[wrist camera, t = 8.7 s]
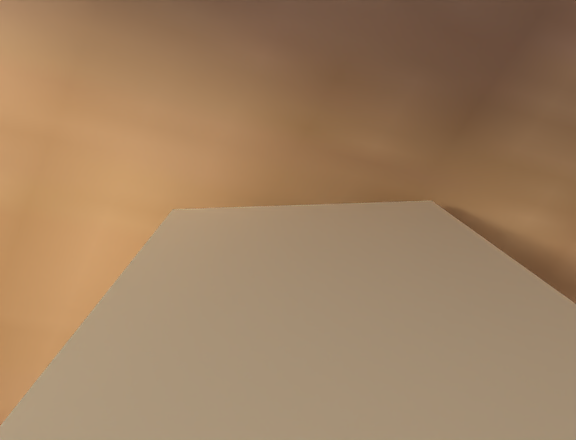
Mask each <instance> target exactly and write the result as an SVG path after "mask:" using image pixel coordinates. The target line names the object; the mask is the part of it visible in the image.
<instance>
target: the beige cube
mask: <svg viewBox="0 0 576 440" xmlns="http://www.w3.org/2000/svg"><path fill="white" fill-rule="evenodd" d="M0 440H576V304H575V303H574V302H573V301H571V300H570V299H568V298H567V297H566V296H564V295H563V294H561V293H560V292H559V291H557V290H556V289H554V288H553V287H552V286H550V285H549V284H547V283H546V282H545V281H543V280H542V279H540V278H539V277H538V276H536V275H535V274H534V273H532V272H531V271H529V270H528V269H527V268H525V267H524V266H522V265H521V264H520V263H518V262H517V261H515V260H514V259H513V258H511V257H510V256H508V255H507V254H506V253H504V252H503V251H501V250H500V249H499V248H497V247H496V246H494V245H493V244H492V243H490V242H489V241H487V240H486V239H485V238H483V237H482V236H480V235H479V234H478V233H476V232H475V231H473V230H472V229H471V228H469V227H468V226H466V225H465V224H464V223H462V222H461V221H459V220H458V219H457V218H455V217H454V216H453V215H451V214H450V213H448V212H447V211H446V210H444V209H443V208H441V207H440V206H439V205H437V204H436V203H434V202H433V201H402V202H372V203H342V204H312V205H282V206H253V207H223V208H193V209H173V210H172V211H171V212H170V213H169V215H168V216H167V217H166V218H165V220H164V221H163V222H162V223H161V225H160V226H159V227H158V228H157V230H156V231H155V232H154V233H153V235H152V236H151V237H150V238H149V240H148V241H147V242H146V243H145V245H144V246H143V247H142V249H141V250H140V251H139V252H138V254H137V255H136V256H135V257H134V259H133V260H132V261H131V262H130V264H129V265H128V266H127V267H126V269H125V270H124V271H123V272H122V274H121V275H120V276H119V277H118V279H117V280H116V281H115V282H114V284H113V285H112V286H111V287H110V289H109V290H108V291H107V292H106V294H105V295H104V296H103V298H102V299H101V300H100V301H99V303H98V304H97V305H96V306H95V308H94V309H93V310H92V311H91V313H90V314H89V315H88V316H87V318H86V319H85V320H84V321H83V323H82V324H81V325H80V326H79V328H78V329H77V330H76V331H75V333H74V334H73V335H72V336H71V338H70V339H69V340H68V341H67V343H66V344H65V345H64V346H63V348H62V349H61V350H60V352H59V353H58V354H57V355H56V357H55V358H54V359H53V360H52V362H51V363H50V364H49V365H48V367H47V368H46V369H45V370H44V372H43V373H42V374H41V375H40V377H39V378H38V379H37V380H36V382H35V383H34V384H33V385H32V387H31V388H30V389H29V390H28V392H27V393H26V394H25V395H24V397H23V398H22V399H21V401H20V402H19V403H18V404H17V406H16V407H15V408H14V409H13V411H12V412H11V413H10V414H9V416H8V417H7V418H6V419H5V421H4V422H3V423H2V424H1V426H0Z"/></svg>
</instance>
